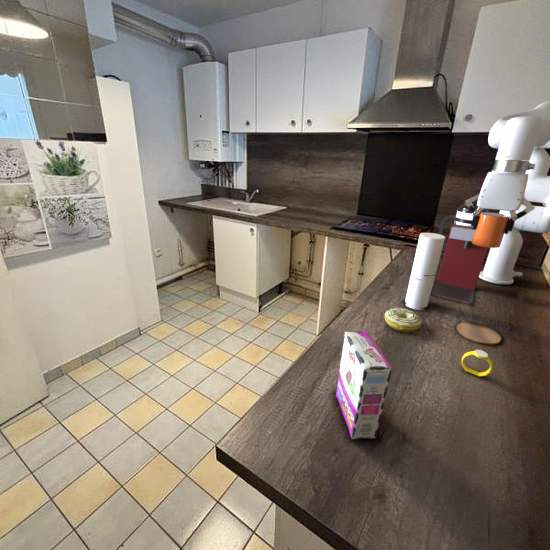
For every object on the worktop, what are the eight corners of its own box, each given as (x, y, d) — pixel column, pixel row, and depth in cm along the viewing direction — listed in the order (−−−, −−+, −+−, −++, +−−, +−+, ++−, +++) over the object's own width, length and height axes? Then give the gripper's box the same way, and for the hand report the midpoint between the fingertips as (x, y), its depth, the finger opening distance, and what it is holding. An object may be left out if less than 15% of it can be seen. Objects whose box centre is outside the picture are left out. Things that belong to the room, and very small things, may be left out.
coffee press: (468, 255, 154) (485, 197, 143) (481, 265, 140) (501, 202, 128) (433, 252, 158) (447, 195, 146) (441, 262, 143) (457, 200, 132)
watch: (458, 370, 71) (464, 350, 69) (459, 364, 73) (466, 345, 71) (487, 381, 68) (495, 361, 65) (488, 375, 70) (496, 355, 68)
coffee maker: (438, 280, 122) (452, 224, 113) (474, 288, 115) (493, 229, 106) (430, 295, 109) (447, 232, 100) (471, 305, 102) (492, 239, 93)
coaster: (484, 323, 91) (484, 322, 91) (510, 345, 81) (510, 343, 81) (449, 323, 91) (449, 321, 91) (470, 344, 81) (471, 343, 81)
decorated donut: (425, 324, 90) (428, 313, 89) (413, 339, 83) (416, 327, 81) (392, 312, 97) (394, 302, 95) (378, 324, 89) (380, 314, 88)
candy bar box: (378, 439, 54) (394, 368, 47) (351, 440, 53) (364, 369, 47) (357, 393, 64) (368, 329, 57) (335, 394, 63) (343, 330, 57)
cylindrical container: (429, 311, 98) (448, 239, 88) (407, 308, 99) (423, 237, 89) (423, 301, 104) (440, 233, 95) (402, 299, 106) (417, 232, 96)
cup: (472, 239, 93) (480, 211, 89) (499, 244, 89) (509, 214, 85) (470, 244, 87) (479, 214, 84) (499, 249, 83) (510, 218, 80)
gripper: (549, 169, 78) (525, 233, 85) (473, 166, 87) (457, 224, 94) (553, 169, 72) (527, 238, 79) (471, 166, 81) (454, 228, 88)
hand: (489, 230), depth 86 cm, fingers closed on cup, 7 cm apart
